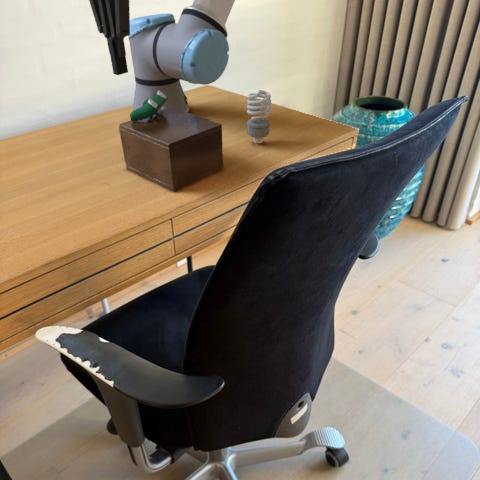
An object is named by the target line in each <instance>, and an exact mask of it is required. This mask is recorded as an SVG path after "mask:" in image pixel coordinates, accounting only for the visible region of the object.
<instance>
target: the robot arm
mask: <svg viewBox="0 0 480 480" xmlns="http://www.w3.org/2000/svg"><path fill="white" fill-rule="evenodd" d="M88 1H89V4H90V8H91V11H92V15H93V17H94V21H95V24H96V27H97V31H98V33H99V34H102V35H103V36H104V38H105V39H106V41H107V48H108V53H109V56H110V61H111V67H112V73H113V75H115V76H121V75H124V74H127V73H129V69H128V63H127V53H126V46H125V45H126V44H125V38H126V37H128V42H129V48H130V54H131V61H132V67H133V74H134V75H133V76H134V81H135V89H134V95H133V104H132V112H133V111H134V110H136V109H138V108H140V107H142V106H143V102H144V101H145V100H146V99H148V98H151V97H154V96H155V95H156V93H157V92H158V90H160V91H161V92H162V93H163V94H164V95H165V96H166V98H167V100H166V102H165V103H164V104H163V106H162V107H160V109H159V110H160V111H161V110H164V109H167V108H171V107H173V108H176V109H179V110H182V111H185V112H188V113H190V105H189V102H188V101H189V100H188V99H189V98H188V97H187V95H186V94H185V92H184V90H183V86H182V83H181V81H185V82H187V83H190V84H193V85H203V86H205V85H210V84H213V83H215V82H216V81H217V80H218V79H220V77H222V75H223V74H224V72H225V71H226V68H227V66H228V62H229V58H230V55H229V54H228V53H229V51H230V44H229V41H228V39H227V38H228V35H229V34H228V30H227V27H226V24H227V22H228V19H229V17H230V14H231V12H232V9H233V6H234V4H235V2H236V0H193V2H192V4H191V5H190V6H186V7H184V8H183V9H182V10H181V14H180V16H179V19H178V21H177V23H176V19H175V16H174V14H173V13H171V12H170V13H157V14H156V13H155V14H150V15H143V16H138V17H135V18H134V17H133V18H131V19H130V16H131V15H130V0H88Z"/></svg>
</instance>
